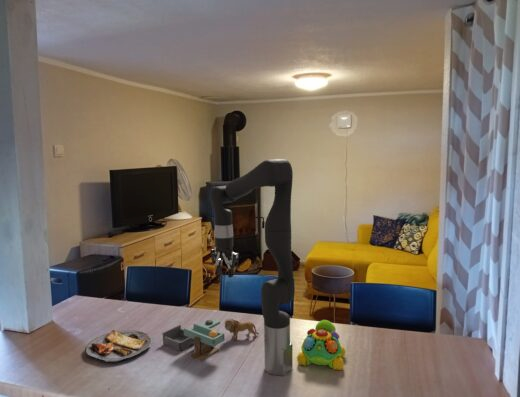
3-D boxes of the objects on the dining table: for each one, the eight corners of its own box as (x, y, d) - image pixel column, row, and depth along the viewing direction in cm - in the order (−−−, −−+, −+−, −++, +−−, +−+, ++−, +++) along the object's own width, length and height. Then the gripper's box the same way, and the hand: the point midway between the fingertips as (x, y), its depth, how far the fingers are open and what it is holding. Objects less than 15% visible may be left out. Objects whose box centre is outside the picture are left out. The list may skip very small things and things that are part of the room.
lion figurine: (226, 343, 168) (226, 322, 167) (223, 337, 173) (223, 317, 172) (260, 337, 172) (260, 317, 171) (257, 332, 177) (256, 312, 176)
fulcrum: (219, 350, 162) (218, 331, 161) (200, 361, 154) (200, 341, 153) (208, 346, 166) (207, 327, 165) (189, 356, 158) (188, 336, 157)
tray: (197, 342, 169) (196, 331, 168) (180, 351, 162) (179, 339, 161) (180, 335, 175) (179, 324, 174) (163, 344, 168) (162, 332, 167)
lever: (241, 330, 164) (241, 324, 164) (213, 346, 152) (213, 339, 151) (211, 320, 174) (211, 314, 174) (183, 334, 162) (182, 328, 161)
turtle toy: (347, 345, 165) (347, 317, 163) (342, 377, 143) (343, 345, 141) (305, 340, 170) (305, 313, 168) (294, 370, 147) (294, 339, 146)
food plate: (73, 354, 161) (72, 345, 160) (118, 330, 181) (118, 322, 181) (119, 371, 149) (119, 362, 149) (162, 344, 170) (162, 336, 169)
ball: (219, 338, 156) (219, 330, 156) (213, 341, 154) (213, 333, 153) (213, 336, 158) (212, 328, 158) (207, 339, 156) (207, 331, 155)
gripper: (243, 235, 164) (244, 276, 166) (217, 231, 173) (218, 270, 175) (231, 239, 158) (232, 281, 160) (204, 234, 167) (205, 275, 169)
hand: (225, 275), depth 168 cm, fingers open, 5 cm apart
